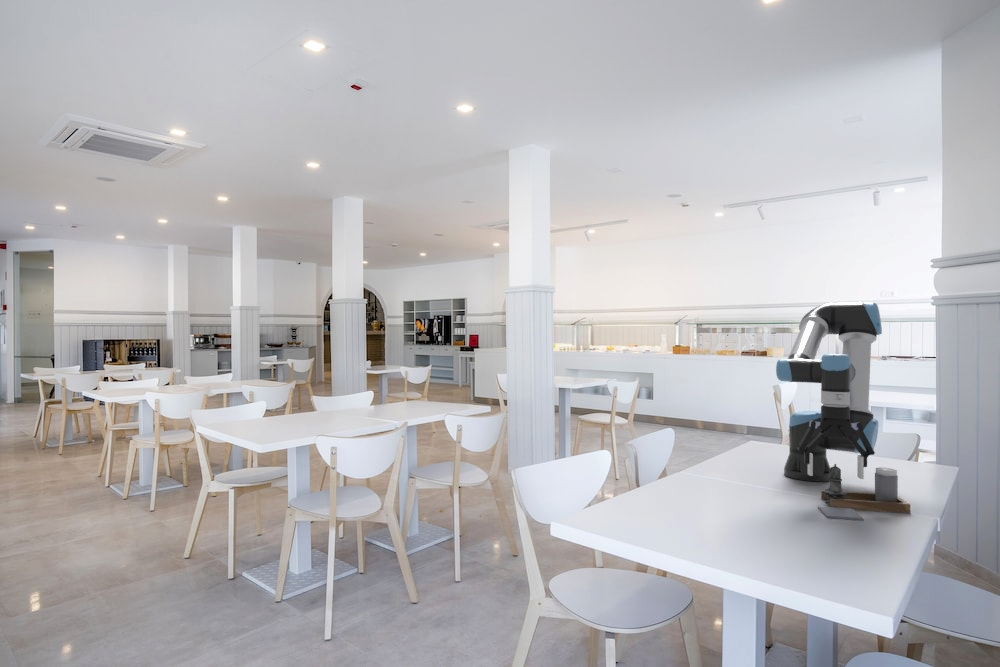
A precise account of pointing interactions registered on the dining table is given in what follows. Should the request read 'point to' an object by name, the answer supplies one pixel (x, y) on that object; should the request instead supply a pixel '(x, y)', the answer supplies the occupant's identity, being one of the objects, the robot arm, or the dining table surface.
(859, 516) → the coaster
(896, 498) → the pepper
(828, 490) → the grey chess piece
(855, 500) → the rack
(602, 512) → the dining table surface
